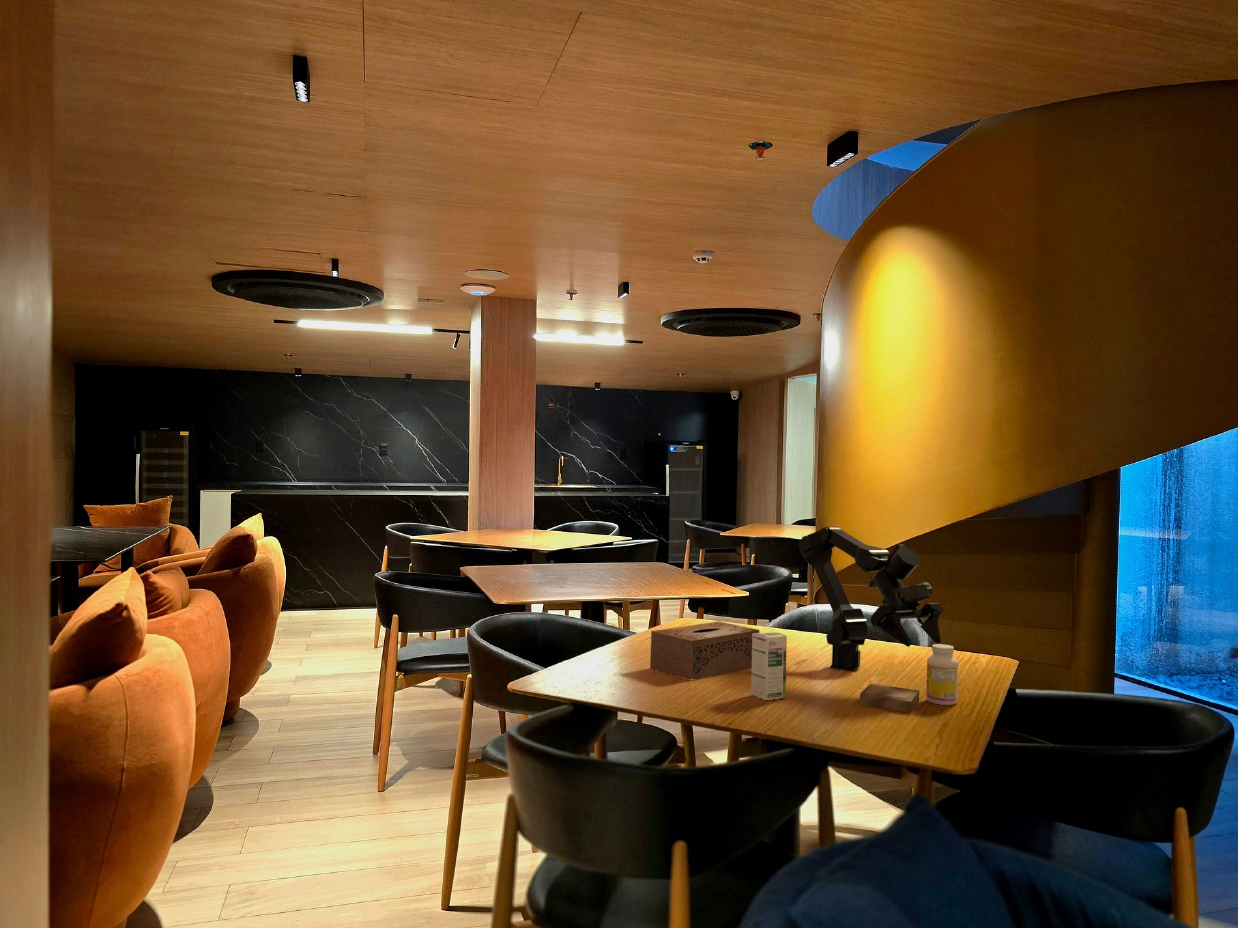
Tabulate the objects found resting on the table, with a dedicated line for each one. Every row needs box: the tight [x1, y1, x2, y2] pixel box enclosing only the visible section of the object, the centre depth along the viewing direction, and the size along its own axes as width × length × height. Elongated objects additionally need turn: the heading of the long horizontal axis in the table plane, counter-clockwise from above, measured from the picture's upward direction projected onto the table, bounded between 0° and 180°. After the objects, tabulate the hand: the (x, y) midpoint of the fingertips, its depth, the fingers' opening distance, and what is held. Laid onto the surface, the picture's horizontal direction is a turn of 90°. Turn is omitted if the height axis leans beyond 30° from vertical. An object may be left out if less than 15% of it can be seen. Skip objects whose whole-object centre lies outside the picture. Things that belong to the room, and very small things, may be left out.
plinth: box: [859, 682, 920, 714], centre depth 192 cm, size 11×11×3 cm
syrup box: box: [750, 631, 788, 701], centre depth 194 cm, size 6×6×14 cm
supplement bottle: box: [925, 643, 959, 706], centre depth 194 cm, size 7×7×13 cm
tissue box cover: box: [649, 621, 760, 681], centre depth 221 cm, size 26×14×10 cm, turn 131°
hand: (924, 644), depth 200 cm, fingers open, 9 cm apart
